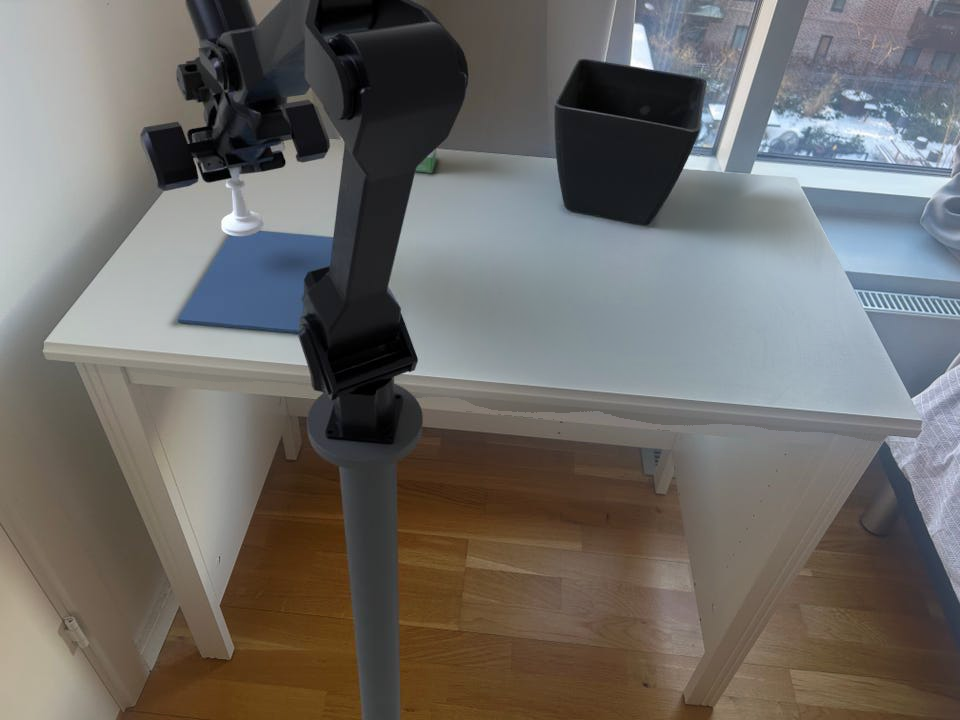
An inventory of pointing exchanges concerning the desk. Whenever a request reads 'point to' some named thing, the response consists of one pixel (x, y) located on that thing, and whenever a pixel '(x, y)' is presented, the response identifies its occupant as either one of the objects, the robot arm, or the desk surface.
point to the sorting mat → (258, 282)
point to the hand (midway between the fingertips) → (230, 171)
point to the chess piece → (240, 210)
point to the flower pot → (624, 137)
